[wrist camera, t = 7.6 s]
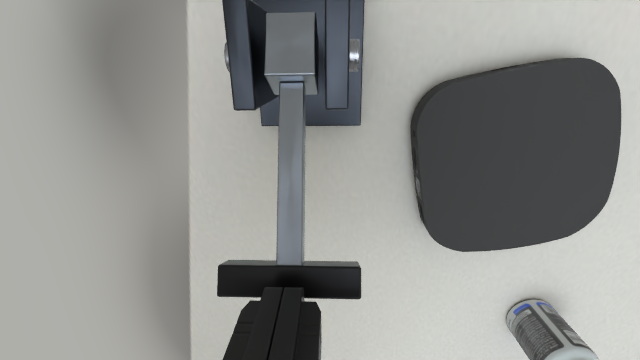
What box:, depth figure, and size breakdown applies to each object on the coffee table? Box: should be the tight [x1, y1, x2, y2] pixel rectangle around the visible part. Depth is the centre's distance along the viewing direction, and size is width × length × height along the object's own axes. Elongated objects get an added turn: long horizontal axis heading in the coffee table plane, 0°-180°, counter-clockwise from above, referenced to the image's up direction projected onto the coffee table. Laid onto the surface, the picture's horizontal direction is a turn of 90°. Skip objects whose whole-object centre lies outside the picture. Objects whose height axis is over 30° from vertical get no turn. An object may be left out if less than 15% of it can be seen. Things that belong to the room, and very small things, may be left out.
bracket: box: [222, 0, 364, 126], centre depth 19 cm, size 10×8×13 cm
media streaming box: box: [411, 58, 621, 252], centre depth 25 cm, size 15×15×3 cm
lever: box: [217, 12, 361, 299], centre depth 14 cm, size 12×6×2 cm, turn 1°
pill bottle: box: [507, 300, 599, 360], centre depth 29 cm, size 5×5×8 cm
